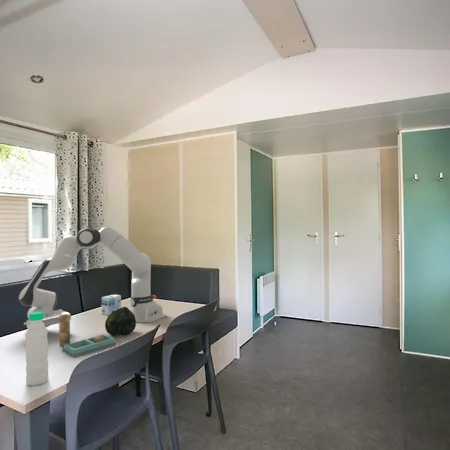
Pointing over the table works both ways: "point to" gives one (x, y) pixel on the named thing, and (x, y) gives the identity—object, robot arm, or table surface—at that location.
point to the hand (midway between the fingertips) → (55, 323)
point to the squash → (120, 322)
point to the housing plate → (88, 345)
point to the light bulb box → (111, 304)
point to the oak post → (64, 329)
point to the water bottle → (36, 350)
